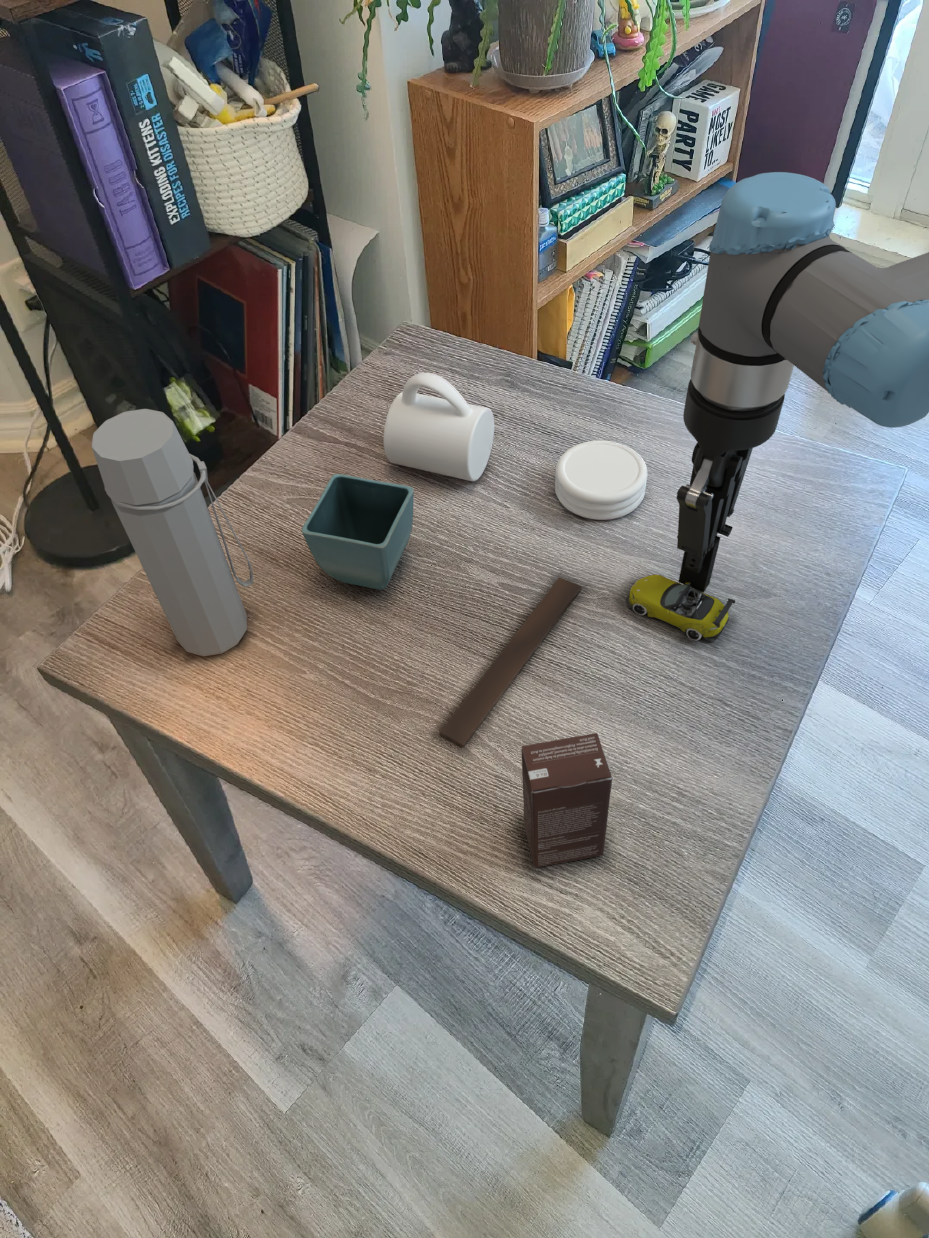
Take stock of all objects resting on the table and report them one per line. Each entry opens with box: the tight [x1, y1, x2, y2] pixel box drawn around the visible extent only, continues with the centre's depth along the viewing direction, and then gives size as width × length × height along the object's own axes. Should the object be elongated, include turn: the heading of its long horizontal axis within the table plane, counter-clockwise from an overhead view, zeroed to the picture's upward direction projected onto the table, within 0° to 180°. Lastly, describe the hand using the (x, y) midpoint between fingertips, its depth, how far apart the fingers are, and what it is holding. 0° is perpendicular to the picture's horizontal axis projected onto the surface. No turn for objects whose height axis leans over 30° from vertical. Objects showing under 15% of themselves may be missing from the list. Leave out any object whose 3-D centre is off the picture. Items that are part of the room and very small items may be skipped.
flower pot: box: [301, 473, 415, 591], centre depth 91 cm, size 9×9×9 cm
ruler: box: [438, 576, 583, 748], centre depth 86 cm, size 3×22×1 cm, turn 147°
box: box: [521, 732, 613, 868], centre depth 69 cm, size 6×4×12 cm
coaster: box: [554, 439, 649, 521], centre depth 99 cm, size 10×10×4 cm
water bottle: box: [91, 408, 254, 657], centre depth 81 cm, size 9×8×25 cm
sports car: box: [625, 574, 736, 643], centre depth 88 cm, size 5×10×3 cm, turn 55°
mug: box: [383, 372, 495, 482], centre depth 100 cm, size 8×10×12 cm
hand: (693, 582), depth 89 cm, fingers closed
